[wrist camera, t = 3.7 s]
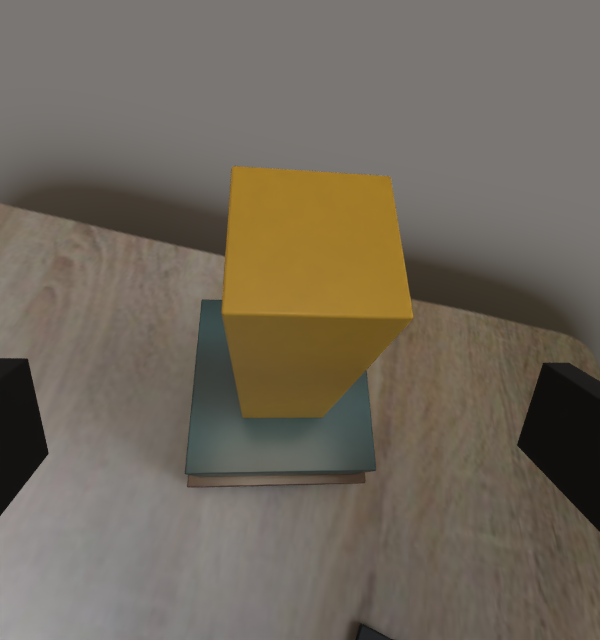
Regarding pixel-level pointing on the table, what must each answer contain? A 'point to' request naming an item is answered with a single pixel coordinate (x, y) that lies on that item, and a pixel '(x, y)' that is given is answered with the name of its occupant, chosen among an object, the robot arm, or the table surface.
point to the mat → (369, 634)
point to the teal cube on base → (268, 429)
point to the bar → (309, 286)
